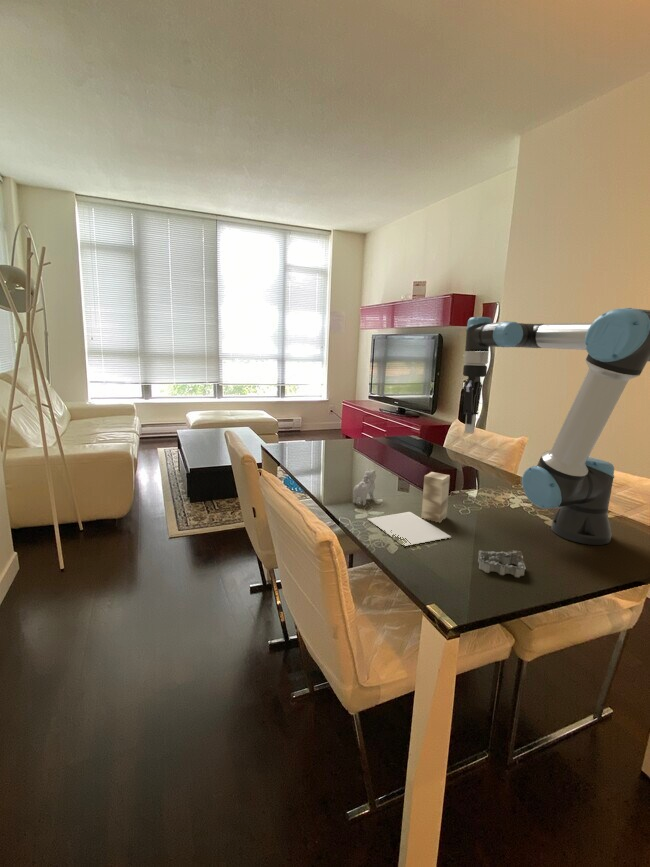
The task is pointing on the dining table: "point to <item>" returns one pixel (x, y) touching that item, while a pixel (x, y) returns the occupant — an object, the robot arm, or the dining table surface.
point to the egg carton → (504, 558)
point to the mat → (409, 528)
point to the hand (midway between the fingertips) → (469, 432)
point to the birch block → (435, 496)
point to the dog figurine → (365, 486)
